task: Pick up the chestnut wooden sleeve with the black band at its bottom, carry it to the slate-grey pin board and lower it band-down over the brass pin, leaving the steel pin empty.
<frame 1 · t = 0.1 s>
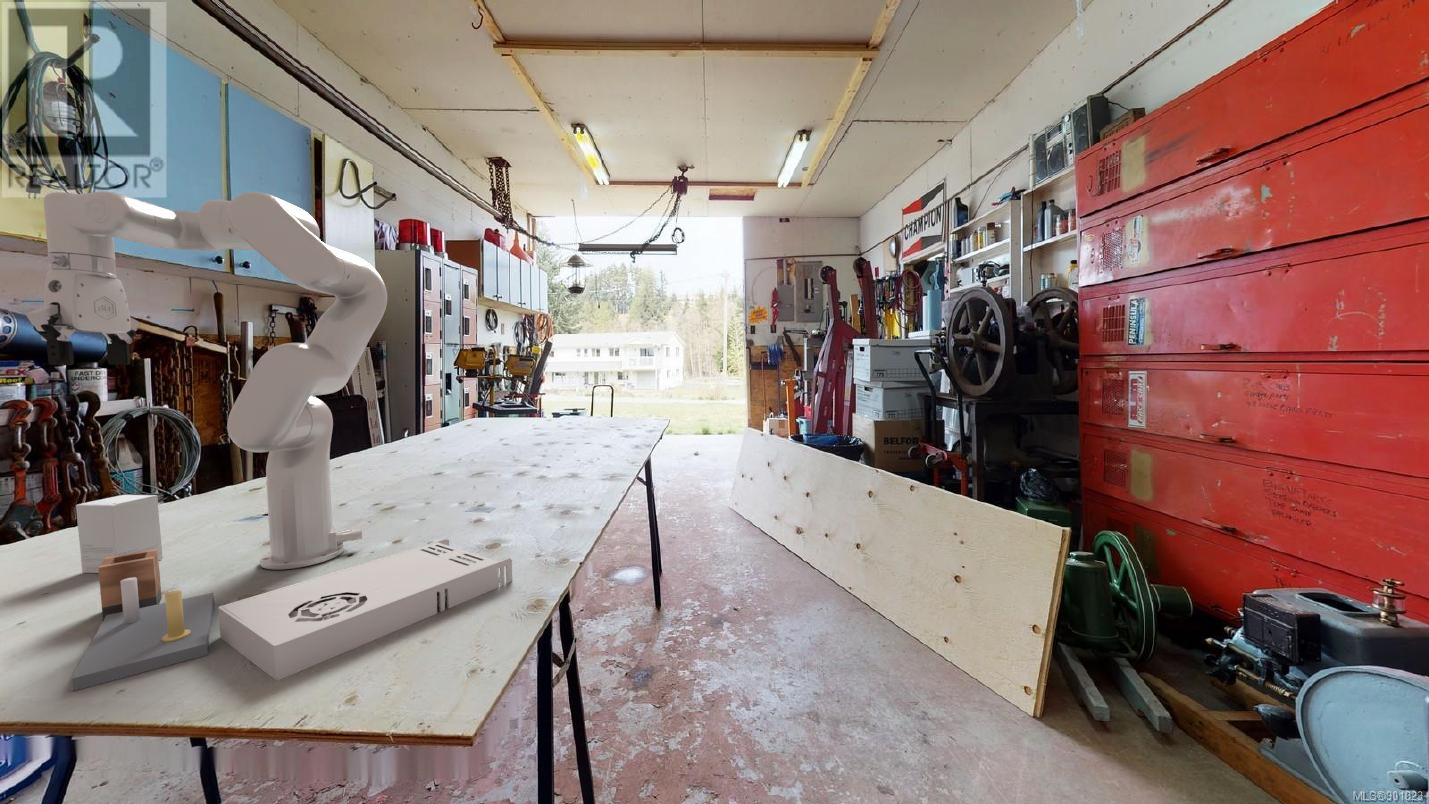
hand: (91, 364, 92), 37 cm above the table, tool pointing down, fingers open, 9 cm apart
pin board: (154, 639, 70), on the table
supplement box: (123, 567, 95), on the table
sleeve: (133, 608, 79), on the table
power supply unit: (383, 611, 80), on the table
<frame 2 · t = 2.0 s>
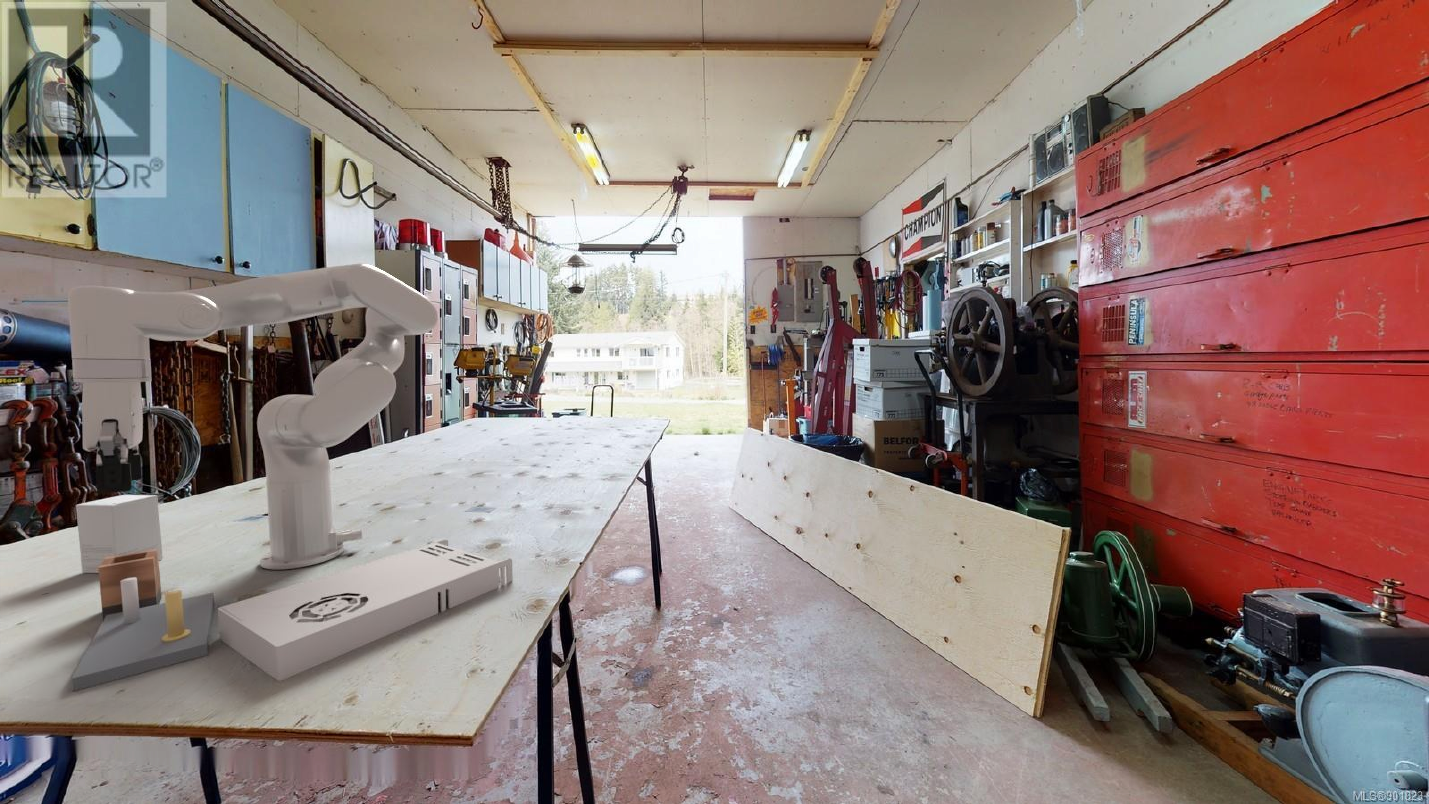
hand: (121, 486, 77), 19 cm above the table, tool pointing down, fingers open, 9 cm apart
nothing on the table moved.
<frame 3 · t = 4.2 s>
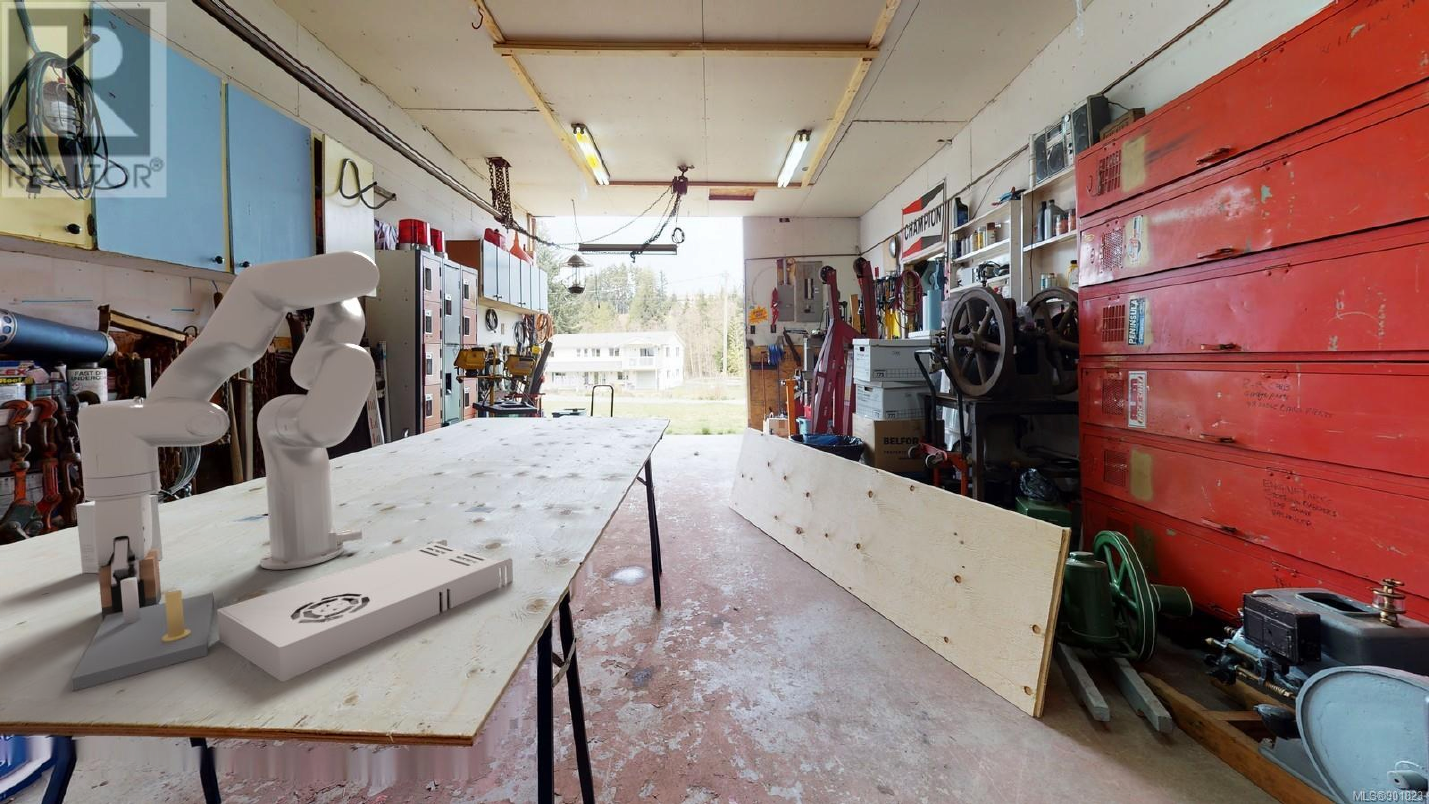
hand: (132, 600, 79), 1 cm above the table, tool pointing down, fingers closed on sleeve, 5 cm apart
sleeve: (133, 608, 79), on the table, touching gripper
everything else where it was.
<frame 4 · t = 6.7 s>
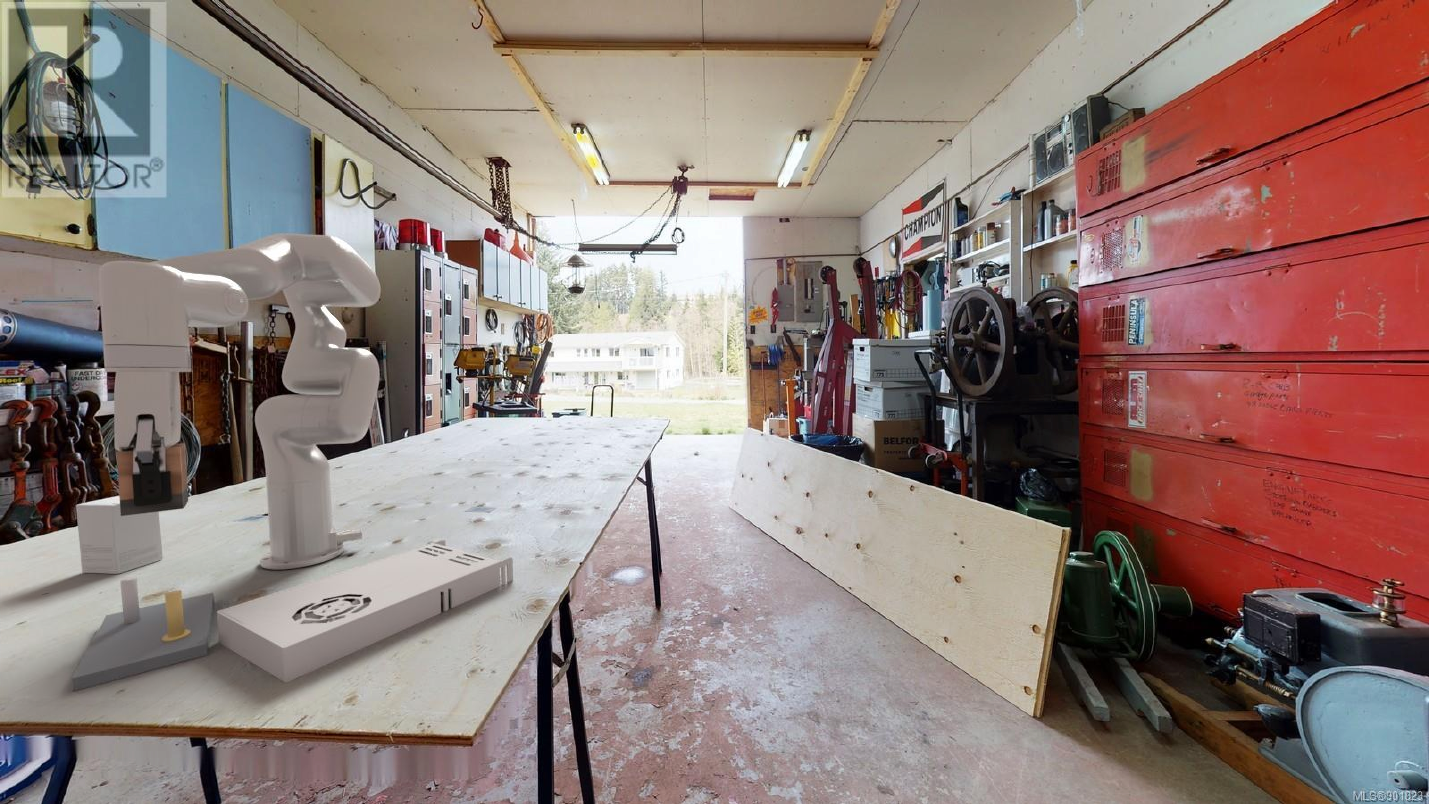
hand: (157, 498, 67), 20 cm above the table, tool pointing down, fingers closed on sleeve, 5 cm apart
sleeve: (156, 508, 67), point 19 cm above the table, touching gripper
everything else where it was.
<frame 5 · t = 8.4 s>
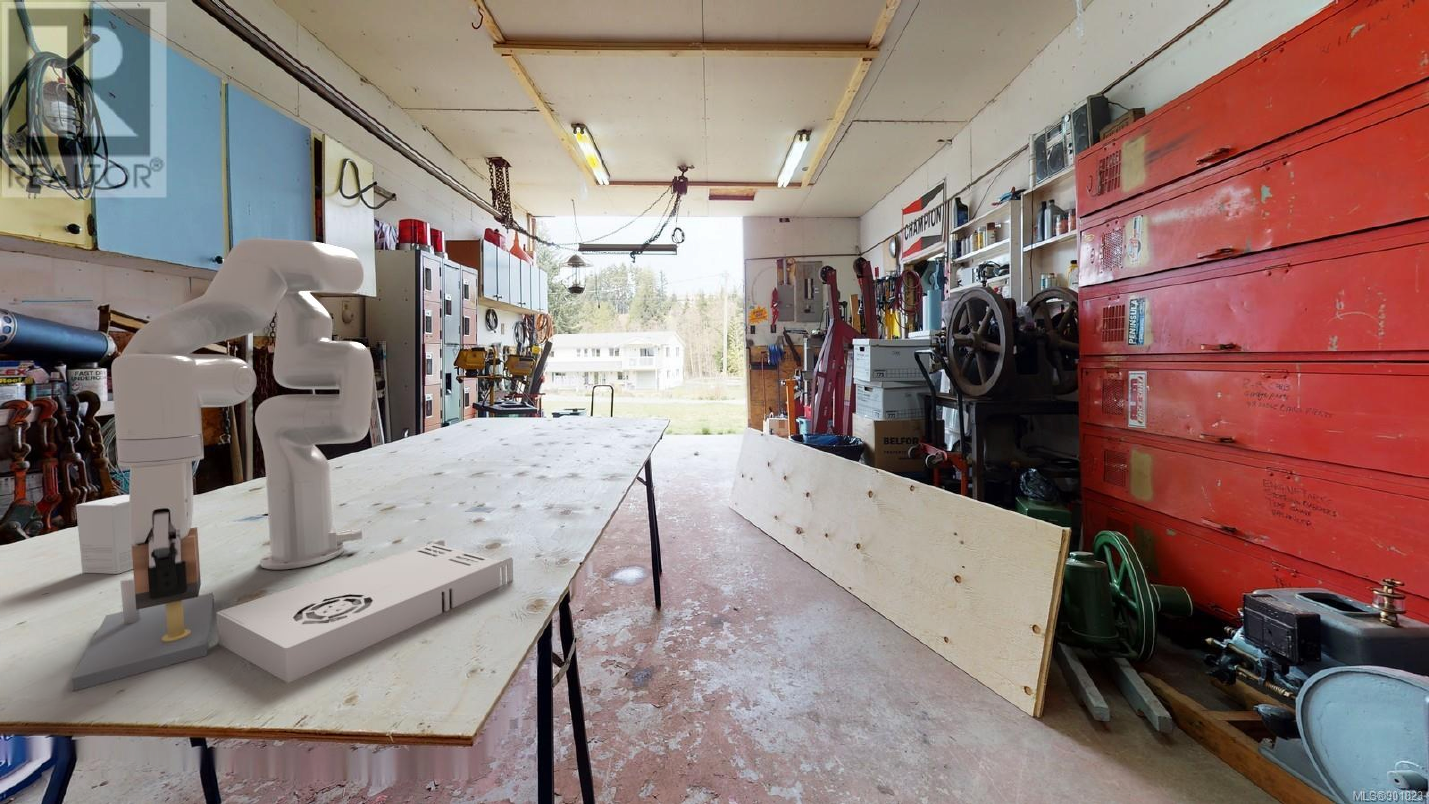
hand: (171, 586, 67), 8 cm above the table, tool pointing down, fingers closed on sleeve, 5 cm apart
sleeve: (170, 596, 67), point 7 cm above the table, touching gripper
everything else where it was.
when the fingers open (5 cm above the table, at t = 9.5 s): sleeve drops 2 cm, resting on pin board.
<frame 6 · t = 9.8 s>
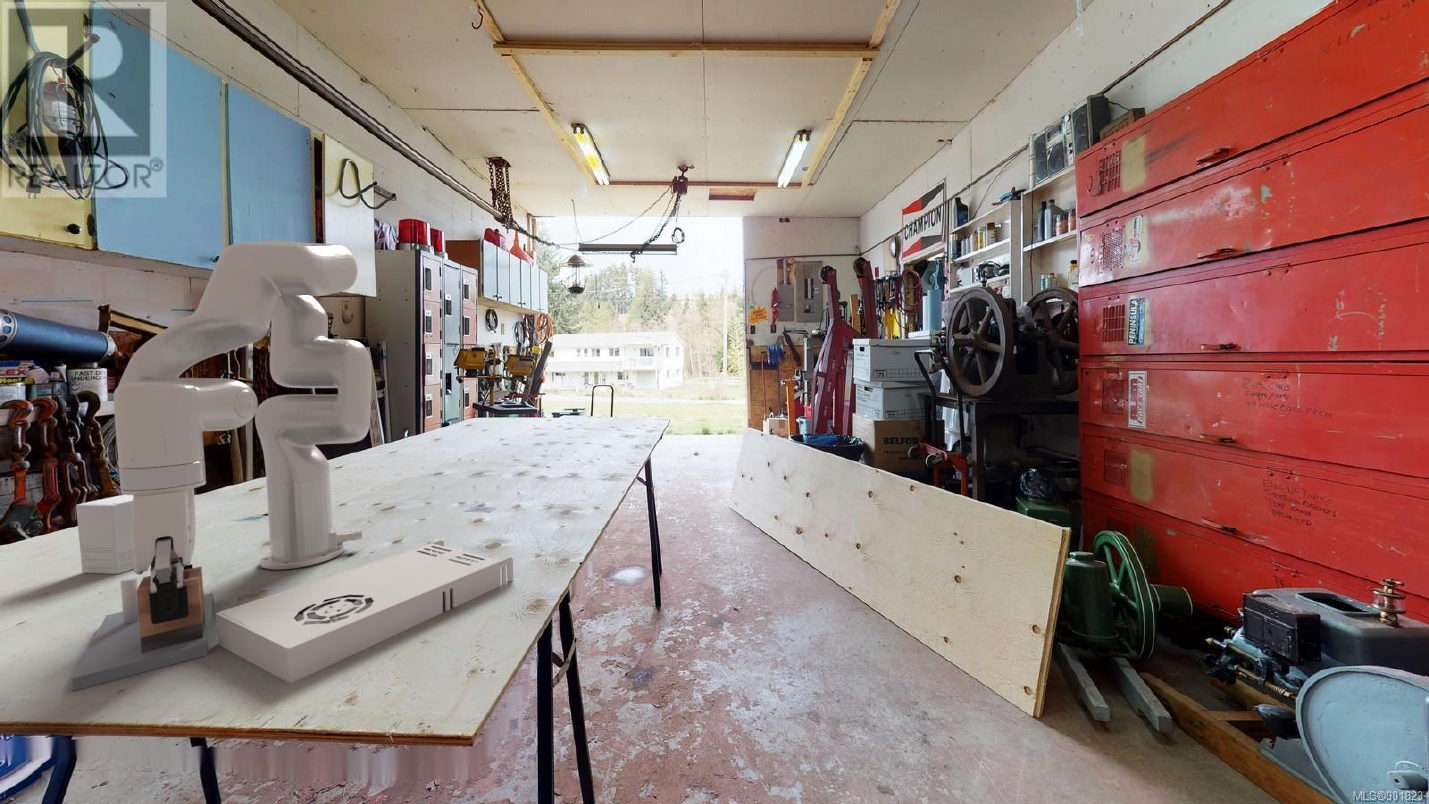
hand: (174, 606, 68), 6 cm above the table, tool pointing down, fingers open, 8 cm apart
sleeve: (175, 636, 68), point 1 cm above the table, touching pin board
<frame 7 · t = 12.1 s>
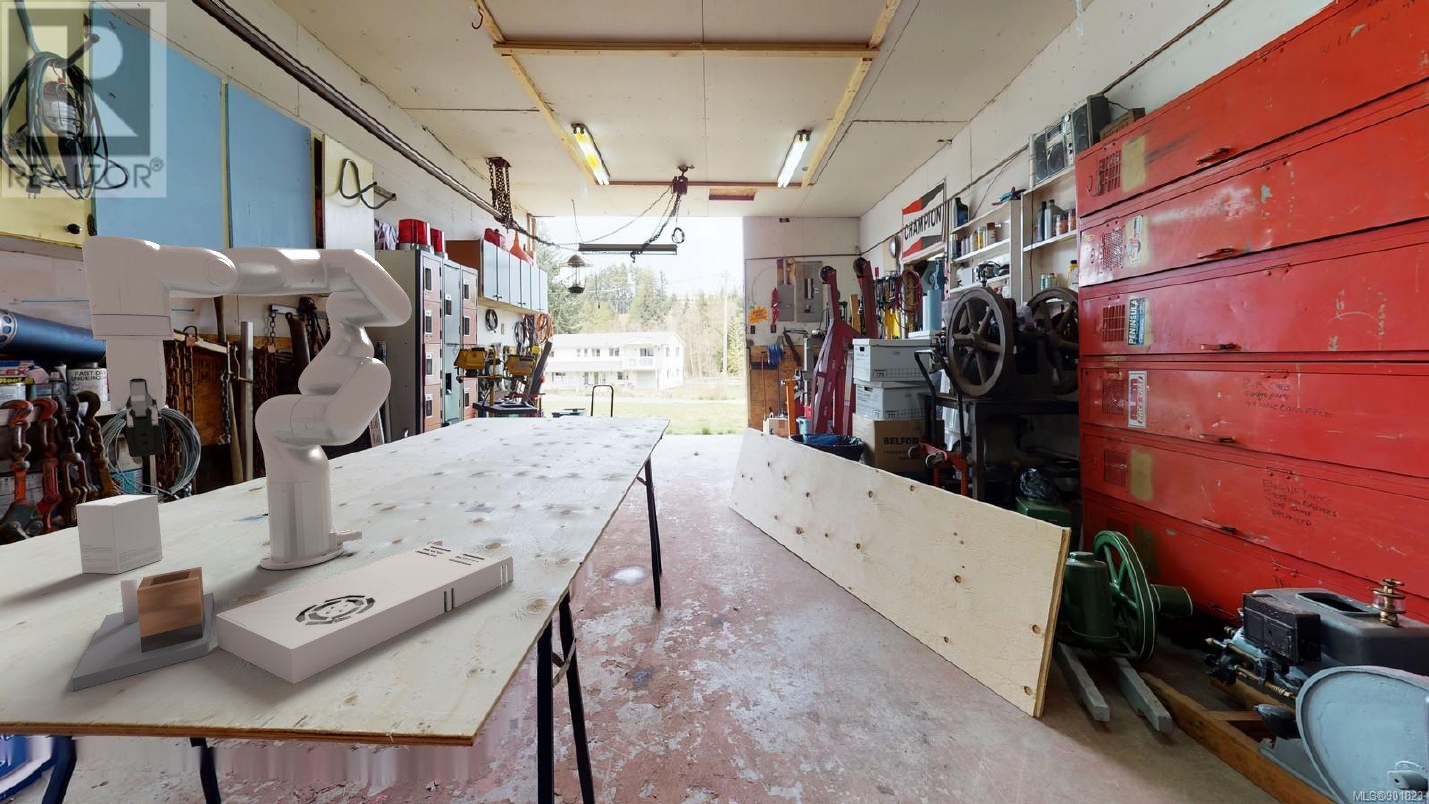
hand: (149, 450, 73), 25 cm above the table, tool pointing down, fingers open, 9 cm apart
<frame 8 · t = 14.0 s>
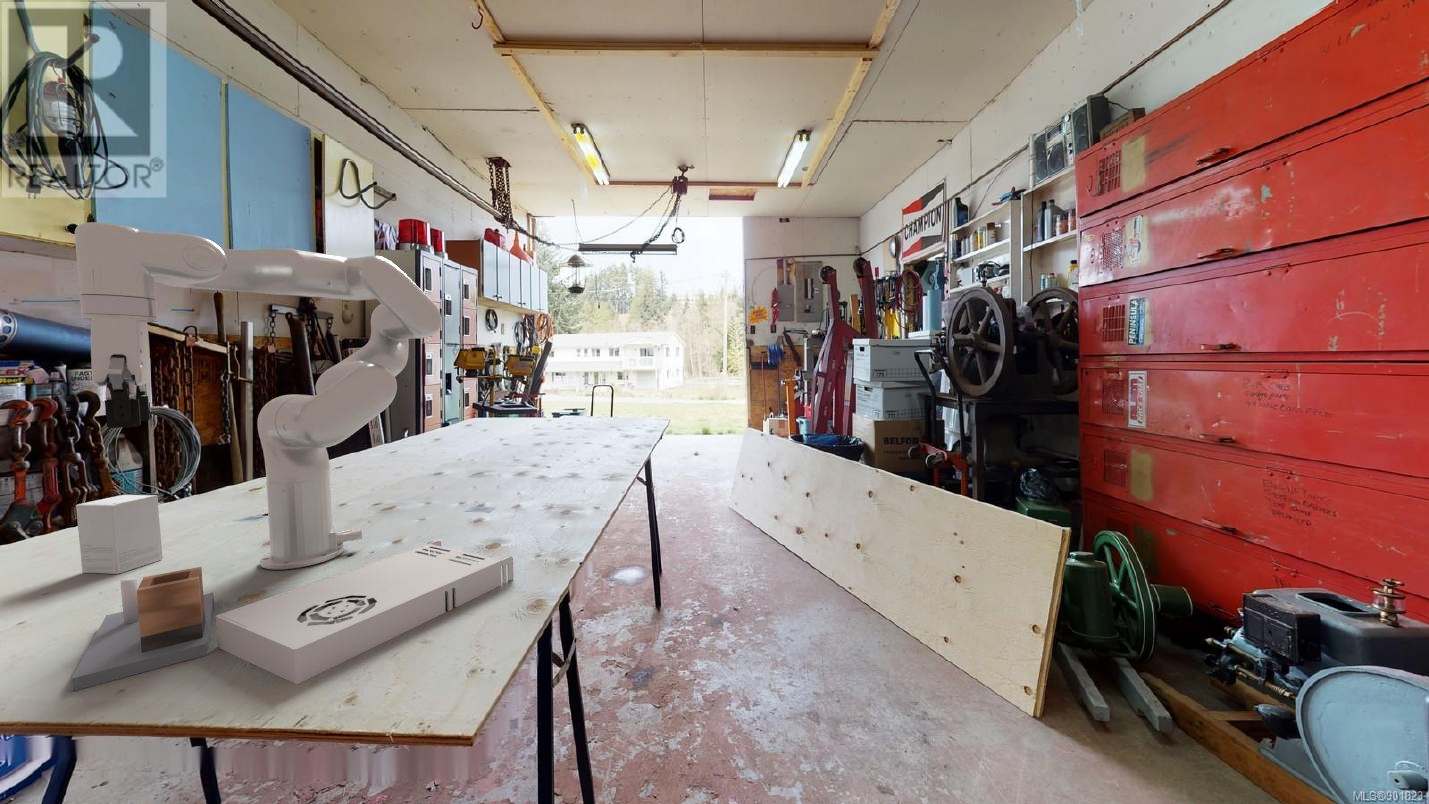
hand: (129, 424, 78), 28 cm above the table, tool pointing down, fingers open, 9 cm apart
at the end: sleeve 0.1 cm from the target spot, point 1.5 cm above the table; sleeve tilted 0°; the gripper is holding nothing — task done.
